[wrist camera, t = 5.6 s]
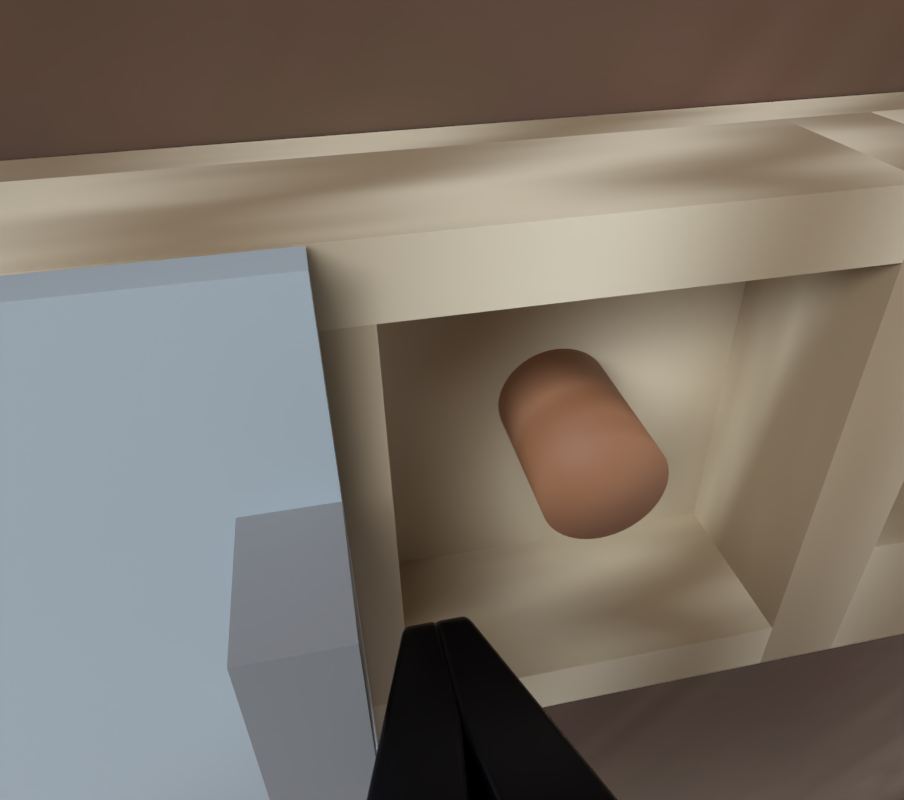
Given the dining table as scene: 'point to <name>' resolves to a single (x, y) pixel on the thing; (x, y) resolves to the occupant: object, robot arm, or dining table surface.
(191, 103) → the dining table surface
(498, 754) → the robot arm
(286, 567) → the lid
